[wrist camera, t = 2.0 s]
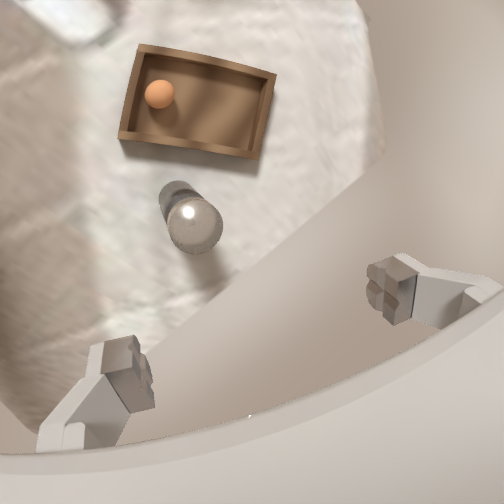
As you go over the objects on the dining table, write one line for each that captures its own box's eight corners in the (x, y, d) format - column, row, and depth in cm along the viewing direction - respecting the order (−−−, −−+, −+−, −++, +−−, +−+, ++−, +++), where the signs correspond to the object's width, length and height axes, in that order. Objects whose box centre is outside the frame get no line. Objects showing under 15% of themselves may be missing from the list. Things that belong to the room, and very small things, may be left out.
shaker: (155, 216, 41) (166, 251, 30) (161, 177, 39) (173, 198, 28) (192, 219, 43) (217, 255, 32) (199, 182, 42) (227, 204, 30)
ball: (141, 107, 35) (142, 105, 31) (147, 80, 33) (149, 75, 30) (169, 111, 36) (173, 109, 33) (175, 84, 35) (179, 80, 32)
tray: (118, 138, 35) (117, 138, 33) (138, 48, 32) (139, 43, 30) (250, 158, 43) (257, 160, 41) (269, 76, 39) (276, 74, 37)
